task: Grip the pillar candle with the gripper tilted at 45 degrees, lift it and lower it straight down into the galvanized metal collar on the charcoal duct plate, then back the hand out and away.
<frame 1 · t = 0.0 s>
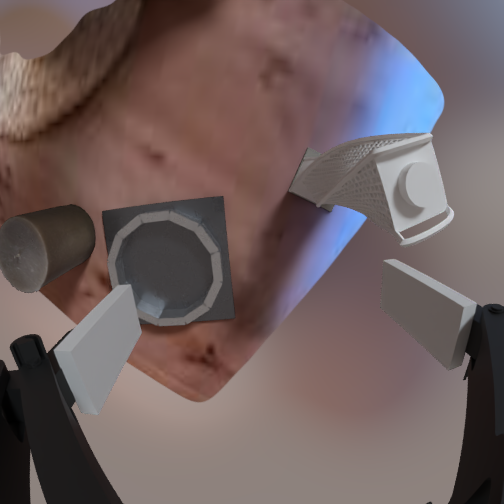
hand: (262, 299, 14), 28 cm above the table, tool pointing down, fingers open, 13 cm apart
pillar candle: (71, 235, 40), on the table
skyscraper: (313, 182, 41), on the table
duct collar: (168, 264, 42), on the table
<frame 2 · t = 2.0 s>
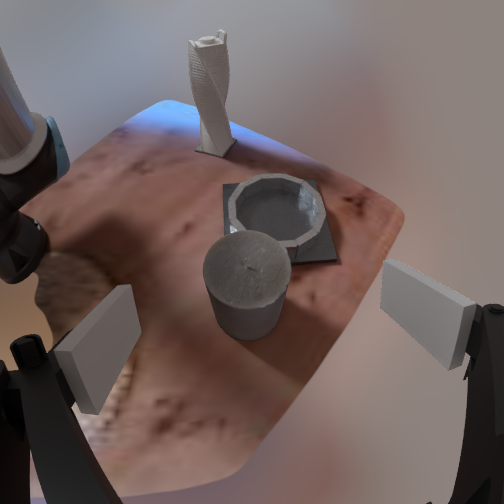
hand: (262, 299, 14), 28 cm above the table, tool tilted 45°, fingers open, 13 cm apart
pillar candle: (248, 311, 43), on the table
skyscraper: (217, 148, 63), on the table
duct collar: (275, 221, 52), on the table
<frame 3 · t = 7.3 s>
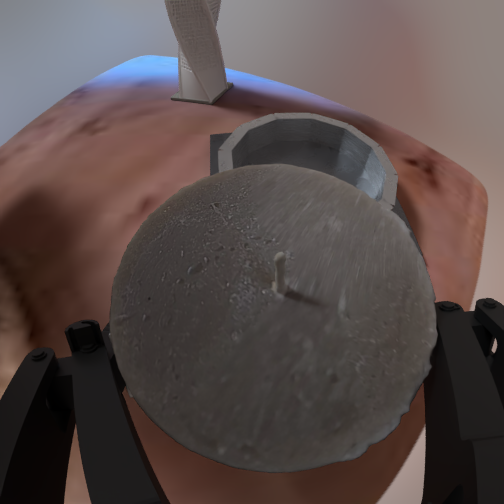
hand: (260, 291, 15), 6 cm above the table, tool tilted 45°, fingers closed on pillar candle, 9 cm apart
pillar candle: (264, 370, 19), on the table, touching gripper
skyscraper: (205, 94, 39), on the table
duct collar: (305, 190, 28), on the table
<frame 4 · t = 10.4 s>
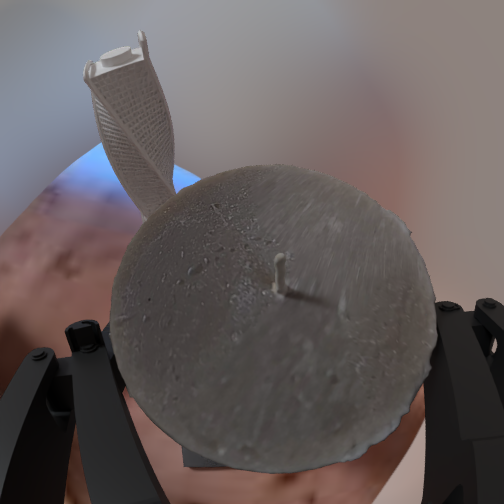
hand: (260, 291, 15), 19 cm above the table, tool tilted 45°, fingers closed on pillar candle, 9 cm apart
pillar candle: (264, 370, 19), point 12 cm above the table, touching gripper
skyscraper: (172, 230, 41), on the table
duct collar: (260, 384, 30), on the table
when the fingers open (9 cm above the table, at t = 13.6 s): pillar candle drops 1 cm, resting on duct collar.
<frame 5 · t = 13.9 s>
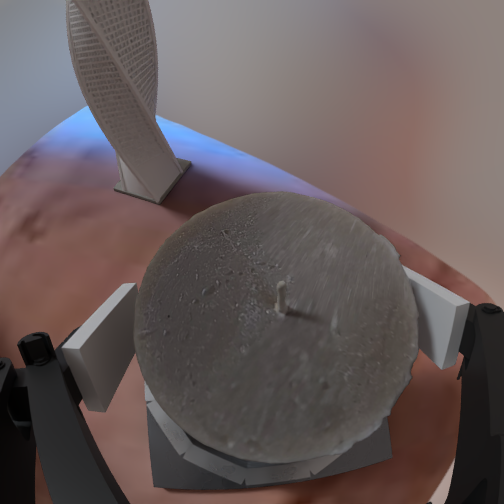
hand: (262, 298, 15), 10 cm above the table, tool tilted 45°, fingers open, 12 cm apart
pillar candle: (266, 373, 21), point 1 cm above the table, touching duct collar
skyscraper: (154, 182, 33), on the table
duct collar: (262, 374, 21), on the table
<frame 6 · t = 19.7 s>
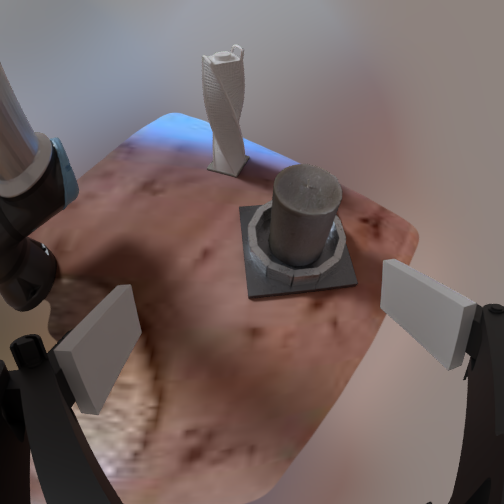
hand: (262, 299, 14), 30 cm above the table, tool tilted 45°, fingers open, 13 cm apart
pillar candle: (296, 243, 51), point 1 cm above the table, touching duct collar
skyscraper: (230, 166, 63), on the table
duct collar: (294, 245, 51), on the table
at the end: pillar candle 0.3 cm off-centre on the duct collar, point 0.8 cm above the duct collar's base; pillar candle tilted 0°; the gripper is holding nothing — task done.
